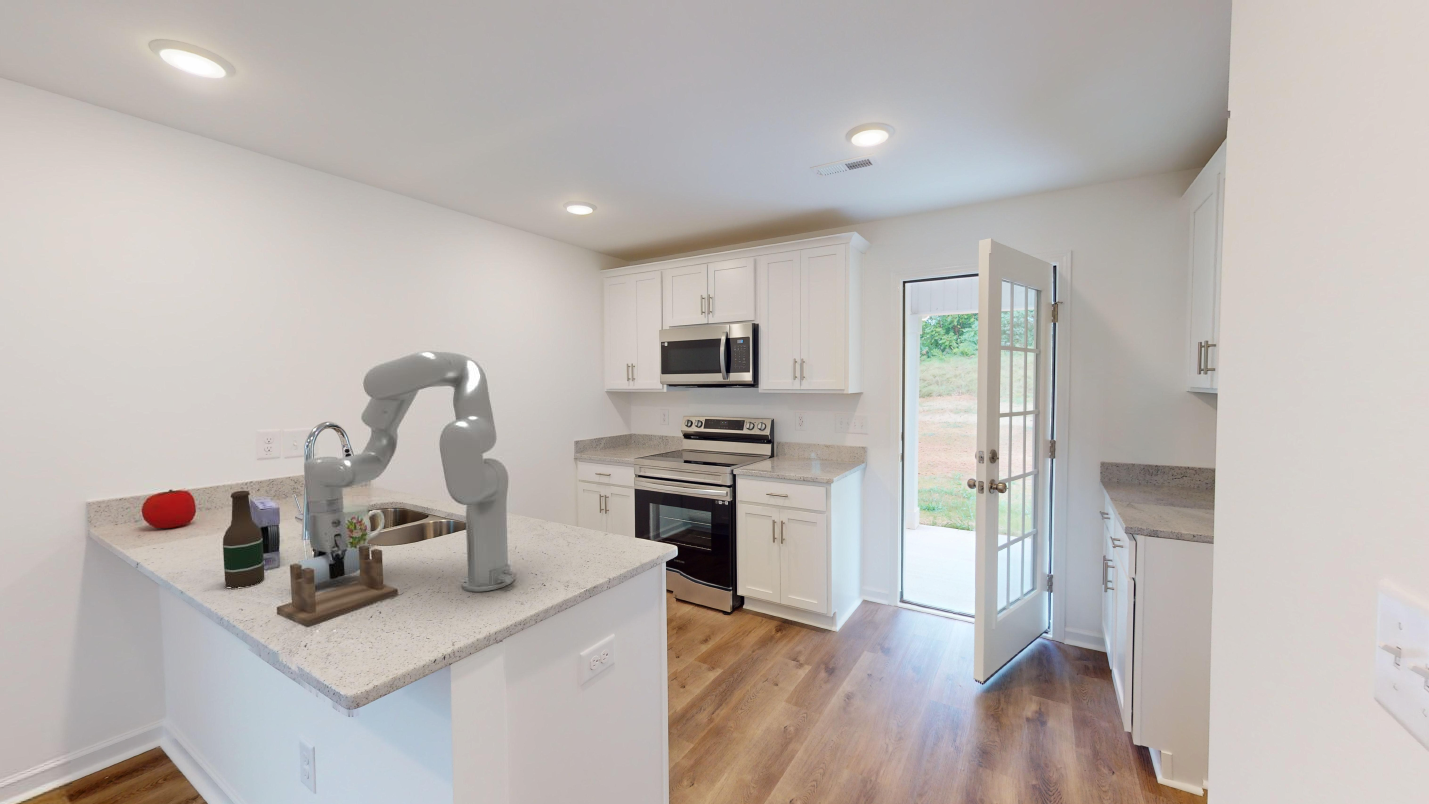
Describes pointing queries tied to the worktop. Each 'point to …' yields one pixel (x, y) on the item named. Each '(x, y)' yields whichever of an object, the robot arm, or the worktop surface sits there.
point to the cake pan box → (267, 529)
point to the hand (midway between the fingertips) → (330, 574)
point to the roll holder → (336, 592)
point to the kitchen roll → (323, 562)
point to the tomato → (169, 509)
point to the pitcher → (360, 525)
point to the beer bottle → (242, 545)
